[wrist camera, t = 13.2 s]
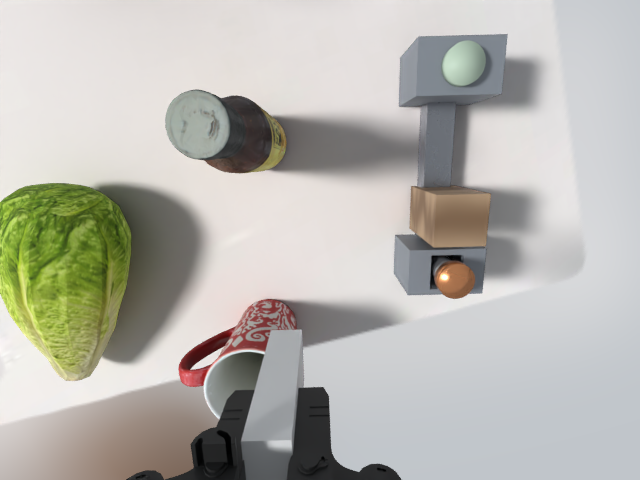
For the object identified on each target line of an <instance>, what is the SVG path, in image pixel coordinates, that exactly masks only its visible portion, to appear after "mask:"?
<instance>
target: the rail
mask: <svg viewBox="0 0 640 480" xmlns="http://www.w3.org/2000/svg"><path fill="white" fill-rule="evenodd" d="M455 110H456V102H432V103H426V104H424V105H422V106H421V117H420V139H419V161H418V184H417V186H418V187H421V188H429V187H450V184H451V169H452V155H453V140H454V125H455ZM415 235H416V236H418V237H419V238H420V239H422V238H421V237H420V236H419V235H417V234H416V233H415Z"/></svg>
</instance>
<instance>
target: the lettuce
mask: <svg viewBox="0 0 640 480" xmlns="http://www.w3.org/2000/svg"><path fill="white" fill-rule="evenodd" d="M130 257H131V231H130V228H129V226H128V224H127V222H126V220H125V217H124V215H123V213H122V211H121V209H120V207H119V206H118V205H117V204H116V203H115V202H113V201H112V200H111V199H109V198H108V197H107V196H106V195H104V194H102V193H101V192H99V191H97V190H94V189H92V188H90V187H86V186H82V185H74V184H66V183H49V184H38V185H31V186H26V187H23V188H20V189H18V190H17V191H15V192H14V193H12V194H10V195H9V196H7V197H6V198H4V199H3V200H2V201H1V202H0V294H1V296H2V299H3V301H4V303H5V305H6V307H7V310H8V312H9V314H10V316H11V317H12V319H13V320H14V321H15V323H16V324H17V326H18V327H19V328H20V330H21V331H22V333H23V334H24V335H25V336H26V337H27V338H28V339H29V340H30V341H31V343H32V344H33V345H34V346H35V347H36V348H37V349H38V350H39V351H40V352H41V353H42V354H43V355H44V356H45V357H46V358H47V359H48V361H49V362H50V364H51V366H52V367H53V369H54V370H55V371H56V373H57V374H58V375H59V376H60V377H61V378H63V379H64V380H66V381H77V380H82V379H84V378H87V377H89V376H90V375H91V374H92V372H93V371H94V369H95V368H96V366H97V365H98V362H99V360H100V358H101V356H102V354H103V352H104V350H105V348H106V346H107V344H108V342H109V340H110V338H111V336H112V333H113V331H114V329H115V327H116V322H117V318H118V313H119V309H120V305H121V302H122V299H123V296H124V293H125V289H126V286H127V279H128V272H129V265H130Z"/></svg>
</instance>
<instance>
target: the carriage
mask: <svg viewBox="0 0 640 480" xmlns="http://www.w3.org/2000/svg"><path fill="white" fill-rule="evenodd" d="M490 199H491V194H490V193H486V192H481V191H477V190H473V189H468V188H464V187H459V186H455V185H450V187H429V188H421V187H418V186H411V206H410V229H411V230H412V231H414V232H415V233H416V234H417V235H419V236H420V237H421V238H422V239H424V240H425V241H426V242H427V243H429V244H430V245H431V246H432V247H433V248H435V247H475V246H486V240H487V230H488V220H489V209H490Z"/></svg>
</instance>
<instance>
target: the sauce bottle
mask: <svg viewBox="0 0 640 480" xmlns="http://www.w3.org/2000/svg"><path fill="white" fill-rule="evenodd" d="M165 121H166V127H165V128H166V130H167V135H168V137H169V139H170V141H171V142H172V144H173V145H174V147H175V148H176V149H177V150H179V151H180V152H181V153H183V154H184V155H185V156H187V157H190V158H193V159H199V160H205V161H206V162H207V163H208V164H209V165H211V166H212V167H214V168H217V169H218V170H221V171H224V172H229V173H249V172H259V171H265V170H268V169H271V168H273V167H274V166H276V165H277V164H278V163H279V162H280V161H281V160H282V158H283V157H284V154H285V151H286V145H287V141H286V136H285V133H284V130H283V128H282V127H281V125H280V124H279V123H278V122H277V121H276V120H275V119H274V118H273V117H272V116H270V115H269V114H268V113H267V112H266V111H264V110H263V109H262V108H261V107H259V106H258V105H257V104H256V103H254V102H253V101H251V100H250V99H247V98H245V97H242V96H229V97H225V98H219V97H218V96H216V95H214V94H211V93H209V92H206V91H202V90H191V91H187V92H184V93H182V94H180V95H179V96H177V97H176V98H175V99H174V100H173V101H172V102H171V104H170V105H169V107H168V110H167V113H166V119H165Z"/></svg>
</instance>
